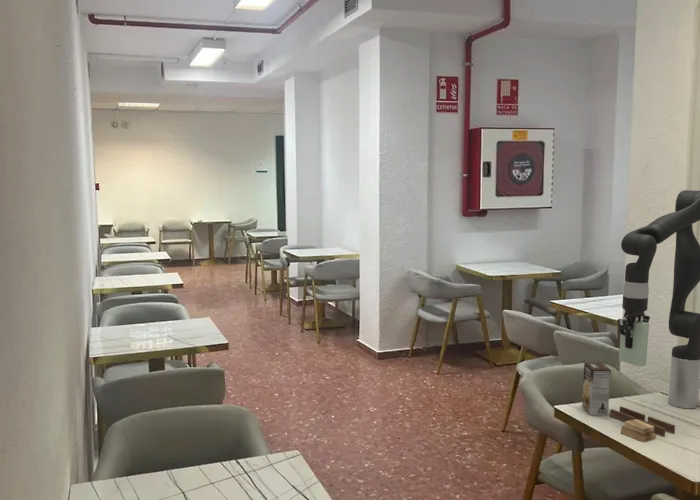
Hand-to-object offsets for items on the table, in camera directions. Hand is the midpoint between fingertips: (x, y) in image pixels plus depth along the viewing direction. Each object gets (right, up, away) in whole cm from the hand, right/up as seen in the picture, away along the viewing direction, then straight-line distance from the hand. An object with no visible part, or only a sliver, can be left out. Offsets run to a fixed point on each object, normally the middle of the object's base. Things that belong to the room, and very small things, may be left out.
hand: (632, 347), depth 217 cm
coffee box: (-8, -24, +10) cm, 27 cm away
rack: (+2, -25, -1) cm, 25 cm away
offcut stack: (-3, -26, -11) cm, 28 cm away
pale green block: (0, -5, 0) cm, 5 cm away
